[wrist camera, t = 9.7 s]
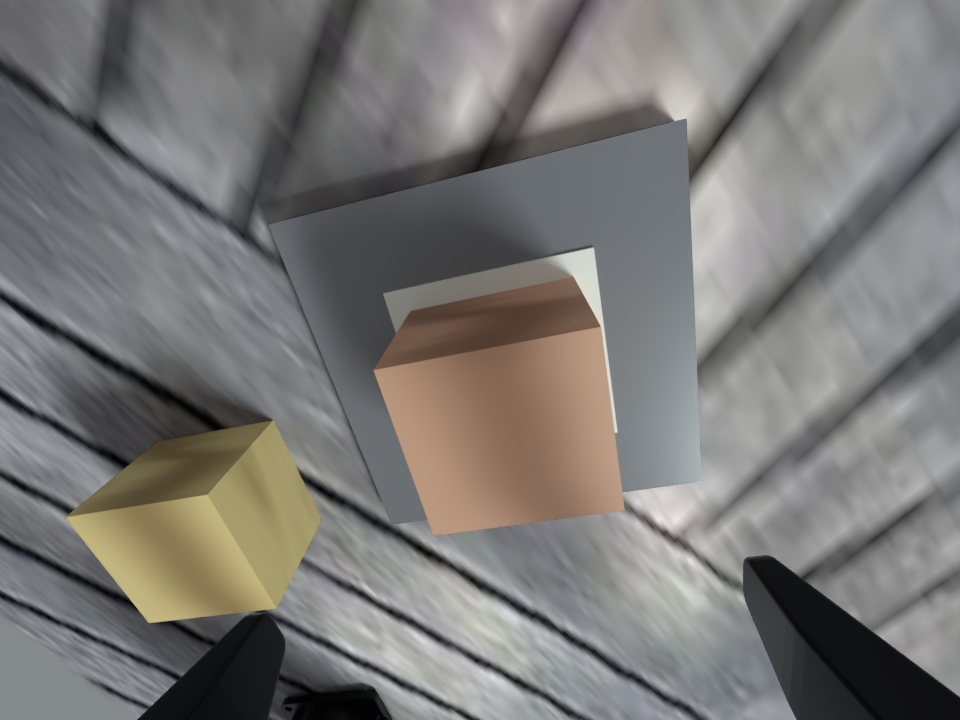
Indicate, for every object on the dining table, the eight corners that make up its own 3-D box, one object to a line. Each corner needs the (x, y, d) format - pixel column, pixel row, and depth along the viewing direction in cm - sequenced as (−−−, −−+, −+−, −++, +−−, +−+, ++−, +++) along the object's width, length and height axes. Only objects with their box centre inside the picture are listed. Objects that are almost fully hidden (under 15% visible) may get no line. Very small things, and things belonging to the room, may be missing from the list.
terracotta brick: (451, 443, 19) (433, 535, 14) (410, 311, 16) (373, 370, 12) (595, 420, 18) (624, 510, 13) (573, 276, 16) (600, 326, 11)
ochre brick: (217, 532, 24) (149, 623, 19) (159, 439, 21) (64, 517, 17) (322, 517, 23) (276, 608, 18) (274, 418, 20) (207, 494, 16)
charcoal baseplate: (396, 509, 22) (391, 526, 21) (281, 220, 16) (266, 225, 15) (692, 466, 20) (702, 482, 19) (675, 120, 14) (687, 118, 13)
